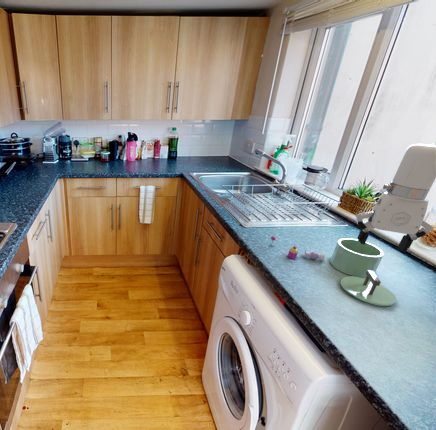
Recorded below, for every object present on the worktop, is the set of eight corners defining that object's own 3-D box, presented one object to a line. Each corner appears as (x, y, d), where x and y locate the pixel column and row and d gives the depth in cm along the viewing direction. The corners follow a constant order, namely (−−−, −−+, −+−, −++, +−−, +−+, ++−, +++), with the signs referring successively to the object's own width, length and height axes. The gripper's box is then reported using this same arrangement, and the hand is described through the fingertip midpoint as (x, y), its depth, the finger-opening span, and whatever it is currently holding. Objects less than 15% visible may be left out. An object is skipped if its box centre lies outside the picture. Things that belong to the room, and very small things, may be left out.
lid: (383, 285, 94) (392, 269, 92) (403, 312, 83) (413, 295, 80) (334, 275, 99) (341, 259, 96) (346, 299, 87) (354, 282, 85)
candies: (320, 256, 110) (325, 242, 107) (323, 266, 103) (328, 252, 101) (268, 244, 117) (272, 231, 115) (268, 253, 111) (272, 239, 108)
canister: (366, 262, 107) (375, 242, 103) (379, 281, 96) (390, 260, 92) (326, 254, 111) (334, 235, 107) (335, 272, 100) (343, 251, 97)
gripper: (373, 190, 77) (349, 245, 84) (458, 201, 71) (425, 259, 78) (363, 182, 83) (342, 234, 90) (441, 192, 77) (411, 246, 84)
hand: (380, 245), depth 84 cm, fingers open, 9 cm apart
